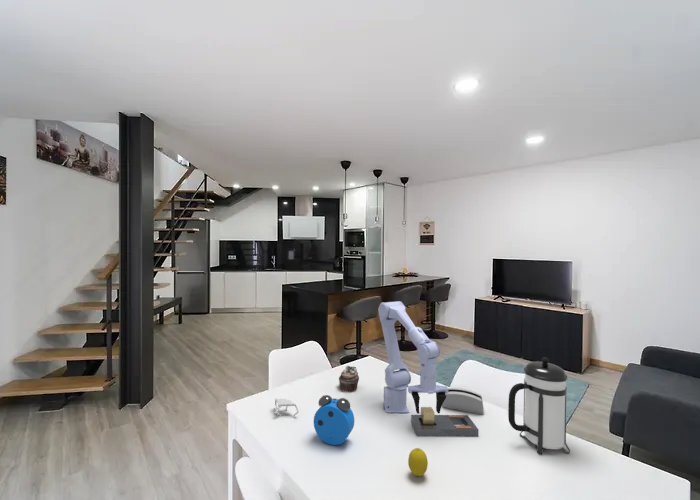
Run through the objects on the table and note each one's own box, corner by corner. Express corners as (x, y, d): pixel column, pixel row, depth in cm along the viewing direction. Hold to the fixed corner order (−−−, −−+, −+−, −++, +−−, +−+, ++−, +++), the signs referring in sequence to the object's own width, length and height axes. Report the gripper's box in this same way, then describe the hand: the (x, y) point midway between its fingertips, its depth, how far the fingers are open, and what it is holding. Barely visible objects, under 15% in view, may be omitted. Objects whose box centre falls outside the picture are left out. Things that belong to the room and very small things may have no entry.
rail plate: (417, 436, 114) (417, 428, 114) (410, 421, 124) (411, 414, 124) (478, 436, 114) (478, 428, 114) (467, 421, 124) (467, 414, 124)
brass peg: (423, 431, 117) (423, 412, 117) (420, 425, 121) (420, 407, 121) (434, 431, 117) (434, 412, 117) (431, 425, 121) (431, 407, 121)
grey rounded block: (483, 408, 134) (484, 389, 131) (483, 417, 130) (484, 398, 127) (442, 401, 141) (441, 382, 137) (441, 409, 136) (440, 390, 133)
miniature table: (266, 418, 124) (266, 405, 124) (275, 408, 132) (276, 396, 132) (296, 422, 122) (296, 409, 122) (303, 411, 130) (303, 399, 130)
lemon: (405, 469, 96) (406, 443, 96) (423, 469, 96) (424, 442, 97) (410, 483, 91) (411, 454, 91) (430, 482, 91) (430, 454, 91)
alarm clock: (354, 440, 111) (355, 396, 111) (348, 450, 105) (349, 404, 105) (320, 432, 115) (320, 390, 115) (312, 441, 109) (313, 397, 109)
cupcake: (340, 383, 157) (340, 363, 157) (359, 385, 156) (360, 364, 156) (336, 392, 148) (337, 370, 148) (357, 393, 147) (358, 371, 147)
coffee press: (523, 426, 121) (525, 347, 121) (574, 445, 110) (576, 357, 110) (507, 445, 109) (508, 357, 109) (562, 468, 98) (563, 370, 98)
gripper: (411, 379, 115) (410, 417, 114) (451, 379, 115) (450, 417, 115) (407, 372, 122) (406, 407, 122) (445, 372, 122) (444, 408, 122)
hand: (427, 412), depth 119 cm, fingers open, 7 cm apart
